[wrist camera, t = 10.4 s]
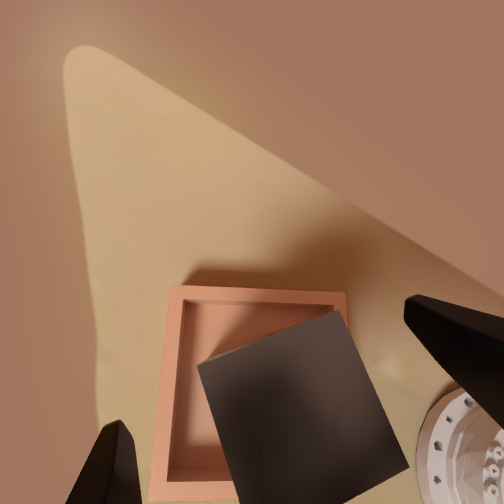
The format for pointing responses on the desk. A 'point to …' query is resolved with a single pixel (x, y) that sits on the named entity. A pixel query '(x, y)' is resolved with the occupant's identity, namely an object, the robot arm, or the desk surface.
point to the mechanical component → (460, 453)
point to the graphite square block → (300, 416)
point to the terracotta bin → (190, 386)
